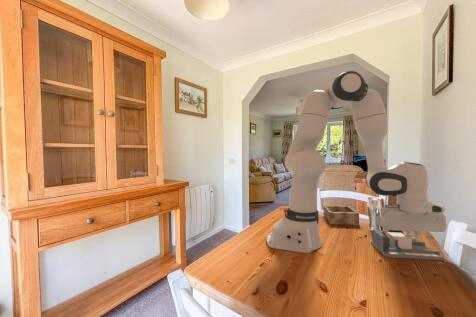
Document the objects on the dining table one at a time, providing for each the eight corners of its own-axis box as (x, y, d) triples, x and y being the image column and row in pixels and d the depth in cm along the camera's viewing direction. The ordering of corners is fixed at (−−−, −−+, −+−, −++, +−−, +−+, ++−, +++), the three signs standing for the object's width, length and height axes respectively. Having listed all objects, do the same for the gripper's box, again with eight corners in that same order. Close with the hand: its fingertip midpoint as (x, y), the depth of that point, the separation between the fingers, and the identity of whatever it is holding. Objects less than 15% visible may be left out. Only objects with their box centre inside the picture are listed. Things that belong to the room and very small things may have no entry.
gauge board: (385, 257, 72) (385, 250, 72) (370, 243, 83) (370, 237, 83) (443, 260, 69) (443, 254, 69) (420, 245, 80) (420, 240, 80)
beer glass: (385, 233, 92) (385, 201, 92) (367, 230, 96) (367, 199, 95) (384, 228, 98) (384, 197, 98) (366, 226, 102) (366, 196, 101)
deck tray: (330, 223, 106) (330, 212, 106) (323, 215, 120) (323, 205, 120) (359, 224, 104) (359, 213, 103) (348, 216, 117) (348, 205, 117)
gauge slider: (399, 253, 72) (399, 241, 71) (386, 243, 80) (386, 232, 80) (416, 254, 71) (416, 242, 71) (401, 243, 79) (401, 232, 79)
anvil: (383, 251, 74) (383, 238, 74) (372, 241, 82) (372, 229, 81) (389, 251, 73) (389, 238, 73) (377, 242, 81) (377, 229, 81)
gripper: (385, 206, 74) (385, 244, 74) (450, 208, 70) (450, 247, 71) (376, 202, 80) (376, 237, 81) (435, 203, 77) (435, 239, 77)
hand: (411, 241), depth 76 cm, fingers closed
